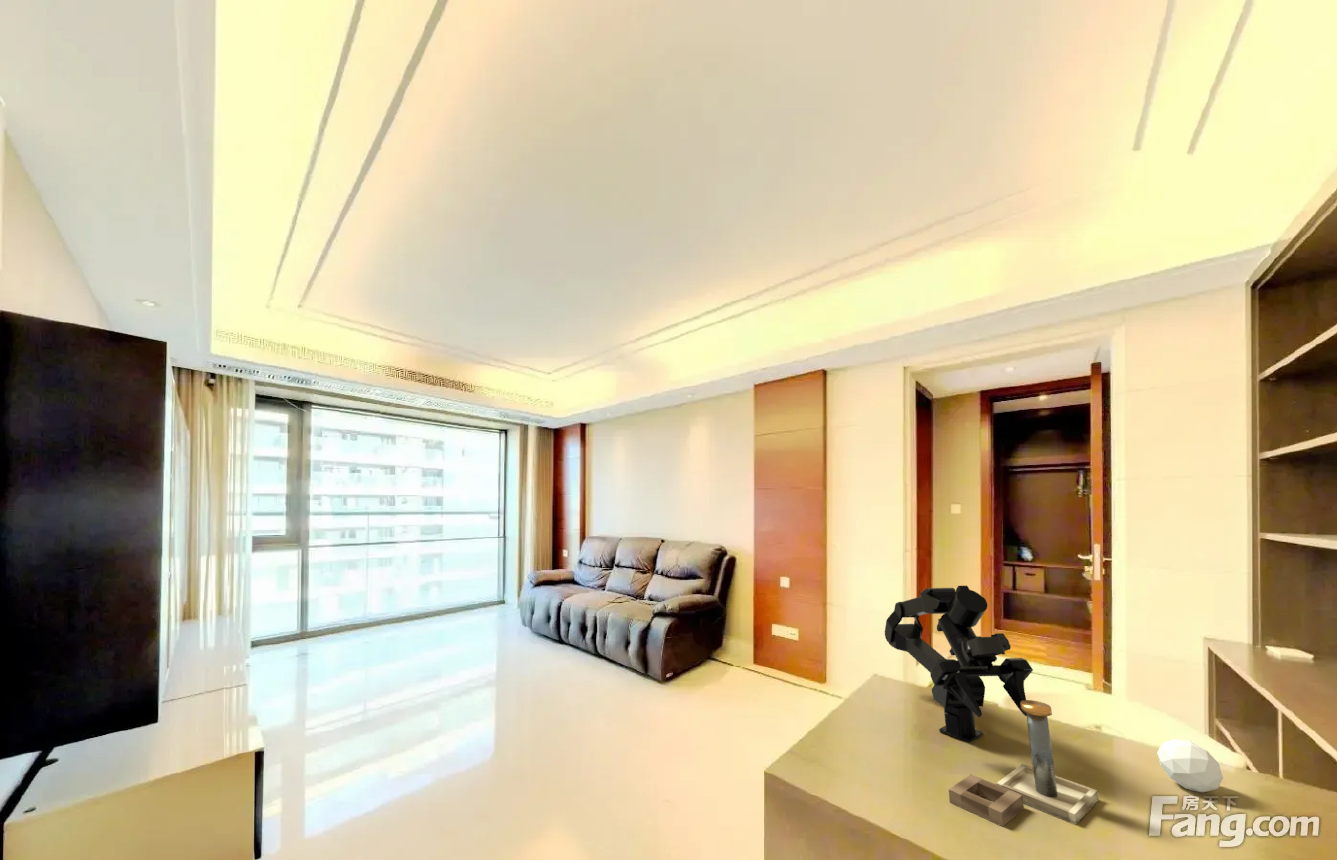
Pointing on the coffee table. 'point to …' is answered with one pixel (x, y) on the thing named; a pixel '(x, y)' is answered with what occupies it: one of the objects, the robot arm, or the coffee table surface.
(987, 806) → the block
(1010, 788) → the tray
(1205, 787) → the geometric ball
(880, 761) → the coffee table surface
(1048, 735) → the pin
